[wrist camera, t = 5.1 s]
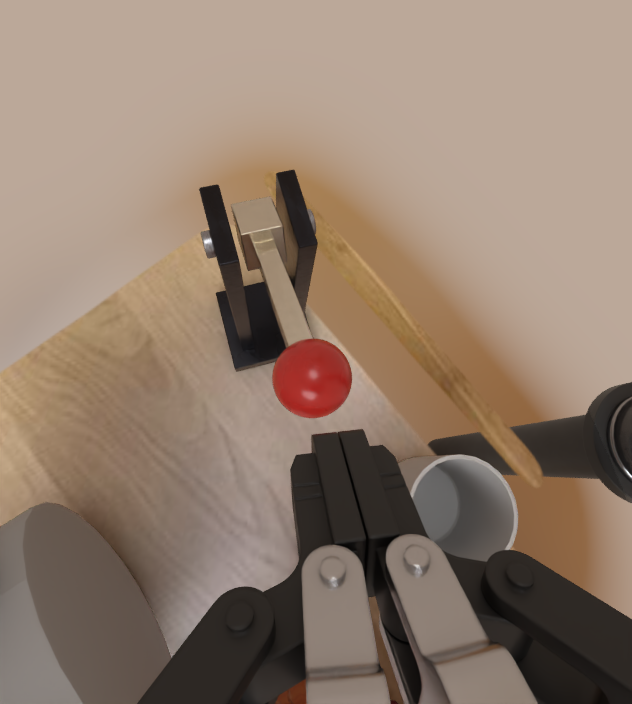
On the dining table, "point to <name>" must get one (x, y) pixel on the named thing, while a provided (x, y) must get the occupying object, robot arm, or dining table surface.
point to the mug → (298, 695)
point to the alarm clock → (71, 616)
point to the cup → (462, 504)
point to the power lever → (291, 319)
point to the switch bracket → (253, 300)
